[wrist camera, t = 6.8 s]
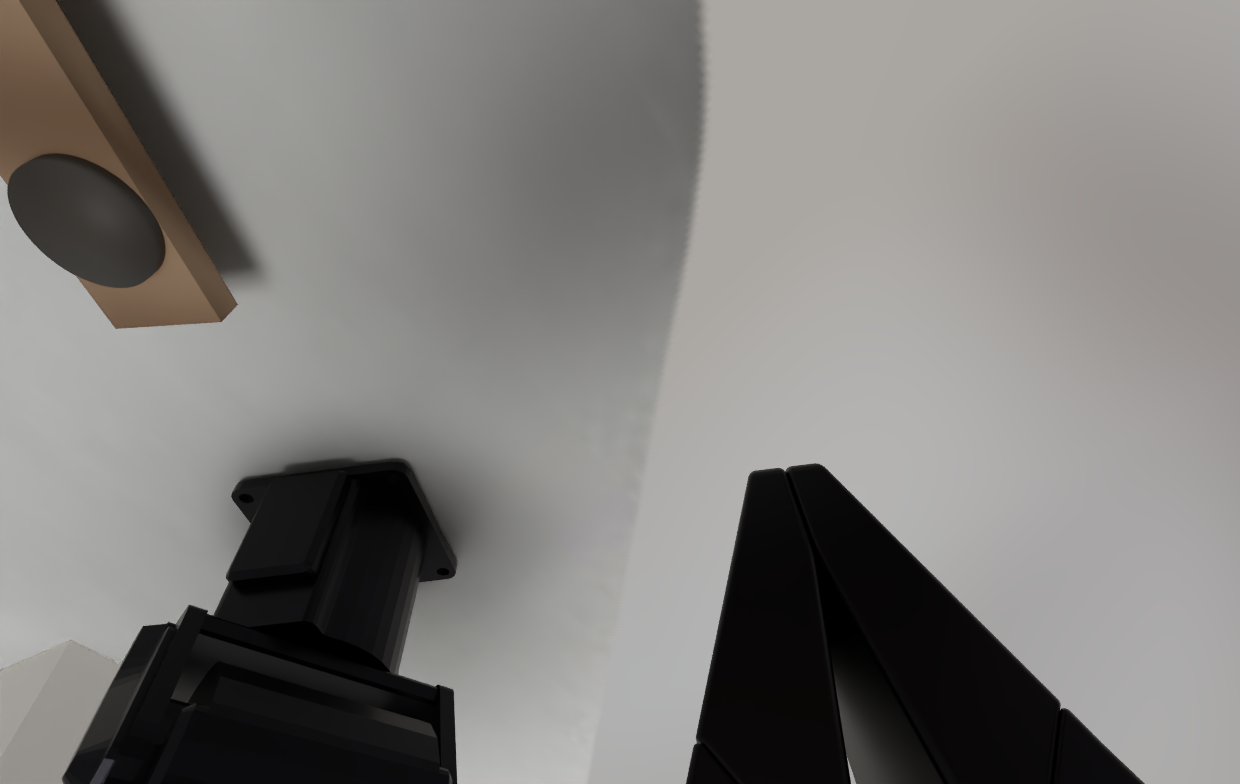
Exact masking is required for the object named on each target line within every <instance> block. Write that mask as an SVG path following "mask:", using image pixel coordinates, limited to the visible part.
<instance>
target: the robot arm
mask: <svg viewBox="0 0 1240 784" xmlns="http://www.w3.org/2000/svg"><path fill="white" fill-rule="evenodd" d="M394 475H397V476H394ZM231 497H232V499H233V501H234V502H235V503H236V505H237V506H238V507H239V509H240V510H241V511H242V512H243V514H244V515H245V516H246V518H247V519H248V520H249V522H250V523H251V524H250V526H249V528H248V530H247V532H246V535H245V537H244V539H243V541H242V543H241V545H240V547H239V549H238V551H237V553H236V555H235V557H234V559H233V562H232V564H231V566H230V568H229V570H228V572H227V574H226V579H227V580H228V581H229V583H228V586H227V588H226V590H225V592H224V594H223V596H222V598H221V600H220V602H219V605H218V607H217V609H216V611H215V613H214V615H213V616H212V615H209V614H207V612H208V611H207V610H204V609H201V608H198V607H195V606H192V605H189V606H188V607H187V608H186V610H185V611H184V613H183V614H182V616H181V617H180V619H179V620H178V622H177V623H176V624H173V623H170V622H168V623H167V624H161V625H150V626H143V627H142V629H141V630H140V632H139V634H138V635H137V637H136V639H135V641H134V642H133V644H132V646H131V648H130V650H129V651H128V653H127V655H126V657H125V659H124V660H123V662H122V664H121V666H120V668H119V669H118V671H117V673H116V675H115V677H114V678H113V680H112V682H111V684H110V686H109V688H108V689H107V691H106V693H105V695H104V697H103V699H102V701H101V703H100V705H99V706H98V708H97V710H96V712H95V714H94V716H93V718H92V720H91V722H90V724H89V726H88V728H87V730H86V732H85V734H84V736H83V738H82V740H81V742H80V743H79V745H78V747H77V749H76V751H75V753H74V755H73V757H72V759H71V761H70V763H69V765H68V767H67V769H66V771H65V773H64V775H63V777H62V782H63V784H457V768H456V742H455V715H454V691H453V689H450V688H447V687H444V686H441V685H437V686H436V687H434V686H431V685H428V684H425V683H422V682H419V681H416V680H413V679H409V678H406V677H403V676H400V675H398V671H399V667H400V663H401V658H402V654H403V649H404V645H405V641H406V636H407V632H408V627H409V623H410V619H411V614H412V610H413V605H414V601H415V597H416V592H417V588H418V583H419V582H425V581H434V580H442V579H449V578H452V577H453V576H454V575H455V573H456V568H457V562H456V560H455V558H454V556H453V554H452V552H451V550H450V548H449V546H448V544H447V542H446V540H445V538H444V536H443V534H442V532H441V530H440V528H439V526H438V524H437V522H436V520H435V518H434V516H433V514H432V512H431V510H430V508H429V506H428V504H427V502H426V500H425V498H424V496H423V494H422V492H421V490H420V488H419V486H418V484H417V482H416V480H415V478H414V476H413V474H412V472H411V470H410V468H409V467H408V466H407V465H405V464H403V463H400V462H386V463H378V464H371V465H363V466H355V467H347V468H340V469H332V470H324V471H317V472H309V473H301V474H293V475H286V476H278V477H270V478H263V479H255V480H247V481H242V482H239V483H238V484H237V485H236V487H235V489H234V490H233V492H232V496H231ZM1060 706H1061V705H1060V702H1059V700H1058V699H1057V698H1056V697H1055V696H1054V695H1053V694H1052V693H1051V692H1050V691H1049V690H1048V689H1047V688H1046V687H1045V686H1044V685H1043V684H1042V683H1041V682H1040V681H1039V680H1038V679H1037V678H1036V677H1035V676H1034V675H1033V674H1032V673H1031V672H1030V671H1029V670H1028V669H1027V668H1026V667H1025V666H1024V665H1023V664H1022V663H1021V662H1020V661H1019V660H1018V659H1017V658H1016V657H1015V656H1014V655H1013V654H1012V653H1011V652H1010V651H1009V650H1008V649H1007V648H1006V647H1005V646H1004V645H1003V644H1002V643H1001V642H1000V641H999V640H998V639H997V638H996V637H995V636H994V635H993V634H992V633H991V632H990V631H989V630H988V629H987V628H986V627H985V626H984V625H982V623H981V622H980V621H979V620H978V619H977V618H976V617H974V615H973V614H972V613H971V612H970V611H969V610H968V609H967V608H965V606H964V605H963V604H962V603H960V602H959V600H958V599H957V598H956V597H955V596H954V595H952V593H951V592H950V591H948V589H946V587H945V586H944V585H943V584H942V583H941V582H940V581H938V580H937V578H936V577H934V575H933V574H932V573H930V572H929V571H928V570H927V569H926V568H925V567H924V566H923V565H922V564H921V563H920V562H919V561H918V560H917V559H916V558H915V557H914V556H913V555H912V554H911V553H910V552H909V551H908V550H907V549H906V548H905V547H904V546H903V545H902V544H901V543H900V542H899V541H898V540H897V539H896V538H895V537H894V536H893V535H892V534H891V533H890V532H889V531H888V530H887V529H886V528H885V527H884V526H883V525H882V524H881V523H880V522H879V521H878V520H877V519H876V518H875V517H874V516H873V515H872V514H871V513H870V512H869V511H868V510H867V509H866V508H865V507H864V506H863V505H862V504H861V503H860V502H859V501H858V500H857V499H856V498H855V497H854V496H853V495H852V494H851V493H850V492H849V491H848V490H847V489H846V488H845V487H844V486H843V485H842V484H841V483H840V482H839V481H838V480H837V479H836V478H835V477H834V476H833V475H832V474H831V473H830V472H829V471H828V470H827V469H826V468H825V467H823V466H822V465H820V464H807V465H799V466H791V467H789V468H787V469H786V471H784V470H783V469H781V468H774V469H766V470H758V471H753V472H752V473H750V475H749V477H748V483H747V487H746V492H745V497H744V502H743V507H742V512H741V517H740V522H739V527H738V531H737V536H736V541H735V546H734V551H733V556H732V561H731V566H730V571H729V576H728V581H727V586H726V591H725V596H724V601H723V606H722V611H721V616H720V620H719V625H718V630H717V635H716V640H715V645H714V650H713V655H712V660H711V665H710V670H709V675H708V680H707V685H706V690H705V695H704V700H703V705H702V710H701V715H700V719H699V724H698V729H697V735H696V741H697V744H695V745H694V747H693V752H692V757H691V762H690V767H689V772H688V777H687V782H686V784H851V781H850V774H849V768H848V761H847V757H848V760H849V763H850V766H851V769H852V772H853V775H854V778H855V781H856V784H1144V783H1143V782H1142V781H1141V780H1140V779H1139V778H1138V777H1137V776H1136V775H1135V774H1134V773H1133V772H1132V771H1131V770H1130V769H1129V768H1128V767H1127V766H1125V765H1124V764H1123V763H1122V762H1121V761H1120V760H1119V759H1118V758H1117V757H1116V756H1115V755H1114V754H1113V753H1112V752H1111V751H1110V750H1109V749H1108V748H1107V747H1105V746H1104V745H1103V744H1102V743H1101V742H1100V741H1099V740H1098V739H1097V738H1096V737H1095V736H1094V735H1093V734H1092V733H1091V732H1090V731H1089V730H1088V729H1087V728H1086V726H1085V725H1083V724H1082V722H1080V720H1078V718H1077V717H1075V715H1074V714H1073V713H1071V711H1069V710H1068V709H1066V708H1063V709H1061V710H1060ZM846 754H847V755H846Z"/></svg>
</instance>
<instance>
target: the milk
mask: <svg viewBox="0 0 1240 784" xmlns="http://www.w3.org/2000/svg"><path fill="white" fill-rule="evenodd" d="M120 666H121V664H119V663H117V662H115V661H113V660H111V659H109V658H107V657H105V656H103V655H101V654H99V653H96V652H94V651H92V650H90V649H88V648H86V647H84V646H82V645H80V644H78V643H76V642H74V641H72V640H69V641H67V642H65V643H62V644H60V645H58V646H55V647H53V648H51V649H49V650H46V651H44V652H42V653H39V654H37V655H35V656H32V657H30V658H28V659H25V660H23V661H21V662H18V663H16V664H14V665H11V666H9V667H7V668H4V669H2V670H0V784H63V782H62V777H63V775H64V773H65V771H66V769H67V767H68V765H69V763H70V761H71V759H72V757H73V755H74V753H75V751H76V749H77V747H78V745H79V743H80V742H81V740H82V738H83V736H84V734H85V732H86V730H87V728H88V726H89V724H90V722H91V720H92V718H93V716H94V714H95V712H96V710H97V708H98V706H99V705H100V703H101V701H102V699H103V697H104V695H105V693H106V691H107V689H108V688H109V686H110V684H111V682H112V680H113V678H114V677H115V675H116V673H117V671H118V669H119V668H120Z"/></svg>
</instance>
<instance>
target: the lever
mask: <svg viewBox="0 0 1240 784" xmlns="http://www.w3.org/2000/svg"><path fill="white" fill-rule="evenodd" d="M0 176H1V177H2V178H3V180H4V181H5V182H6V184H7V185H8V199H9V204H10V207H11V210H12V212H13V214H14V216H15V218H16V220H17V222H18V224H19V225H20V227H21V228H22V230H23V231H24V232H25V234H26V235H27V236H28V237H29V239H30V240H31V241H32V242H33V243H34V244H35V245H36V246H37V247H38V248H39V249H40V250H41V251H42V252H43V253H44V254H45V255H46V256H47V257H49V258H50V259H51V260H52V261H54V262H55V263H56V264H58V265H59V266H61V267H62V268H64V269H65V270H67V271H69V272H70V273H72V274H74V275H76V276H77V278H78V279H79V280H80V282H81V283H82V284H83V286H84V287H85V288H86V290H87V291H88V292H89V294H90V295H91V296H92V298H93V299H94V300H95V302H96V303H97V304H98V306H99V307H100V308H101V310H102V311H103V312H104V314H105V315H106V316H107V318H108V319H109V320H110V322H111V323H112V324H113V326H114V327H115V328H116V329H118V328H134V327H150V326H165V325H181V324H197V323H213V322H222V321H223V320H224V319H225V318H226V316H227V315H228V314H229V313H230V312H231V311H232V310H233V309H234V308H235V307H236V306H237V305H238V304H237V302H236V301H235V299H234V297H233V296H232V294H231V292H230V291H229V289H228V287H227V286H226V284H225V282H224V281H223V279H222V277H221V276H220V274H219V272H218V271H217V269H216V267H215V266H214V264H213V262H212V261H211V259H210V257H209V256H208V254H207V252H206V251H205V249H204V247H203V246H202V244H201V242H200V241H199V239H198V237H197V236H196V234H195V232H194V231H193V229H192V227H191V226H190V224H189V222H188V221H187V219H186V217H185V216H184V214H183V212H182V211H181V209H180V207H179V206H178V204H177V202H176V201H175V199H174V197H173V196H172V194H171V192H170V191H169V189H168V187H167V186H166V184H165V182H164V181H163V179H162V177H161V176H160V174H159V172H158V171H157V169H156V167H155V166H154V164H153V162H152V161H151V159H150V157H149V156H148V154H147V152H146V151H145V149H144V147H143V145H142V144H141V142H140V140H139V139H138V137H137V135H136V134H135V132H134V130H133V129H132V127H131V125H130V124H129V122H128V120H127V119H126V117H125V115H124V114H123V112H122V110H121V109H120V107H119V105H118V104H117V102H116V100H115V99H114V97H113V95H112V94H111V92H110V90H109V89H108V87H107V85H106V84H105V82H104V80H103V79H102V77H101V75H100V74H99V72H98V70H97V69H96V67H95V65H94V64H93V62H92V60H91V59H90V57H89V55H88V54H87V52H86V50H85V49H84V47H83V45H82V44H81V42H80V40H79V39H78V37H77V35H76V34H75V32H74V30H73V29H72V27H71V25H70V24H69V22H68V20H67V19H66V17H65V15H64V14H63V12H62V10H61V9H60V7H59V5H58V4H57V2H56V0H0Z"/></svg>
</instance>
